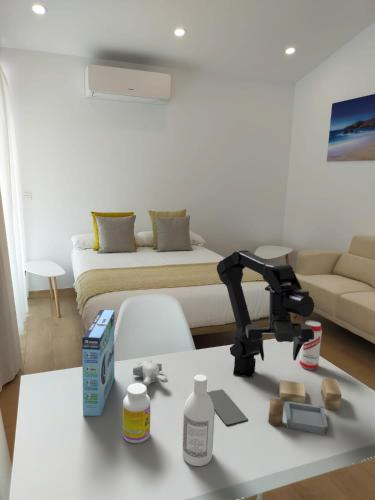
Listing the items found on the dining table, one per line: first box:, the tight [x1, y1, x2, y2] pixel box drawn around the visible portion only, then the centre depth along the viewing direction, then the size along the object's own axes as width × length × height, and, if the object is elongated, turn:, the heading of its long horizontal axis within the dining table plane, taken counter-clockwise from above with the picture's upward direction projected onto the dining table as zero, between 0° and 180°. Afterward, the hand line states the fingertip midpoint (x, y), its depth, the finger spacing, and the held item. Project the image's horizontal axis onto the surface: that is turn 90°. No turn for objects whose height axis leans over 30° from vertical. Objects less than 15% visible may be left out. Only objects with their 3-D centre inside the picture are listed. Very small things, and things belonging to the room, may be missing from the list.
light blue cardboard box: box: [81, 309, 116, 417], centre depth 104 cm, size 20×5×23 cm, turn 0°
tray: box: [285, 401, 329, 436], centre depth 98 cm, size 10×9×2 cm
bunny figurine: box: [132, 359, 169, 387], centre depth 115 cm, size 10×5×15 cm
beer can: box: [299, 320, 323, 371], centre depth 126 cm, size 6×6×16 cm
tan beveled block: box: [278, 379, 306, 404], centre depth 109 cm, size 7×7×3 cm
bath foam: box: [182, 374, 216, 467], centre depth 82 cm, size 7×7×20 cm
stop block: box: [320, 377, 343, 411], centre depth 107 cm, size 4×8×5 cm, turn 168°
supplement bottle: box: [122, 382, 151, 444], centre depth 89 cm, size 7×7×13 cm
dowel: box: [267, 397, 285, 428], centre depth 96 cm, size 4×4×6 cm
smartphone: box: [207, 388, 249, 427], centre depth 103 cm, size 7×1×15 cm
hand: (278, 360), depth 106 cm, fingers open, 9 cm apart
